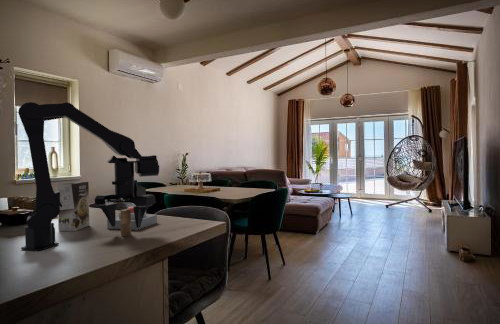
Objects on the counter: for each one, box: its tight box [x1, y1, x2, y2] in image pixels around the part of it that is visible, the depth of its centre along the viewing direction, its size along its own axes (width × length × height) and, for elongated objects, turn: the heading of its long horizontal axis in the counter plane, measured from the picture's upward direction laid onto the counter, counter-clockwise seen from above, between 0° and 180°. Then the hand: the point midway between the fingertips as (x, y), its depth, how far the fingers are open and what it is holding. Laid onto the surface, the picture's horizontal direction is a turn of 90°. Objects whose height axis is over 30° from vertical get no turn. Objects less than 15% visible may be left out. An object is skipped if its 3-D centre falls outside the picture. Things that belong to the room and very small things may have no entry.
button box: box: [106, 211, 158, 231], centre depth 117 cm, size 12×12×5 cm
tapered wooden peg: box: [119, 208, 132, 237], centre depth 102 cm, size 3×3×8 cm
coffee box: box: [57, 181, 91, 232], centre depth 114 cm, size 9×6×16 cm
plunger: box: [127, 206, 134, 213], centre depth 117 cm, size 3×3×3 cm
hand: (125, 227), depth 102 cm, fingers open, 9 cm apart
